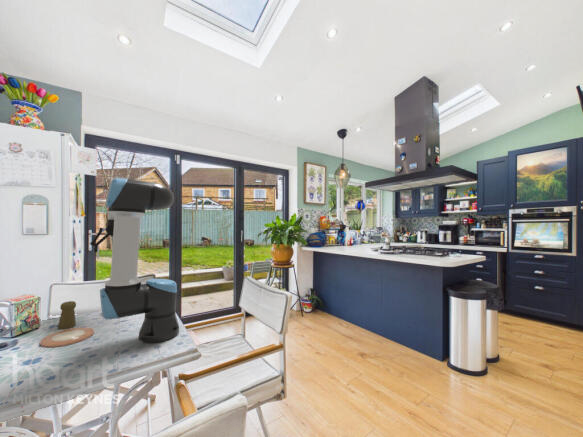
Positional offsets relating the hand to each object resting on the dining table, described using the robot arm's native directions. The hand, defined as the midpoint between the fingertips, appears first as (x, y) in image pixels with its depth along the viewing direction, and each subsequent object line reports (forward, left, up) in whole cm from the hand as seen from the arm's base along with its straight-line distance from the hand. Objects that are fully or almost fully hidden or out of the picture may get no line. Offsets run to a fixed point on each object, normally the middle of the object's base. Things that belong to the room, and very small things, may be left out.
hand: (113, 257), depth 131 cm
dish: (-30, +16, -28) cm, 44 cm away
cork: (-16, +17, -28) cm, 37 cm away
